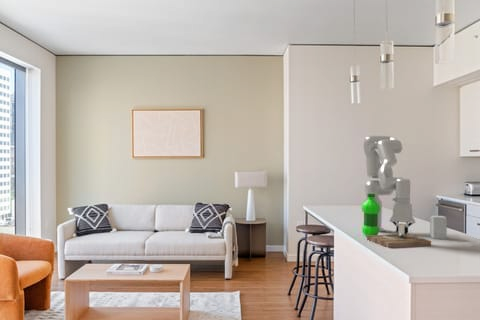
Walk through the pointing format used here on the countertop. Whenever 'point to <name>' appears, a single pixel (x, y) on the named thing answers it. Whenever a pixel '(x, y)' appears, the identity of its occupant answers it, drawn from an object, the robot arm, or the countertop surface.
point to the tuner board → (398, 240)
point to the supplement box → (438, 227)
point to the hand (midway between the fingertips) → (402, 233)
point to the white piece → (401, 229)
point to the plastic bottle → (370, 216)
